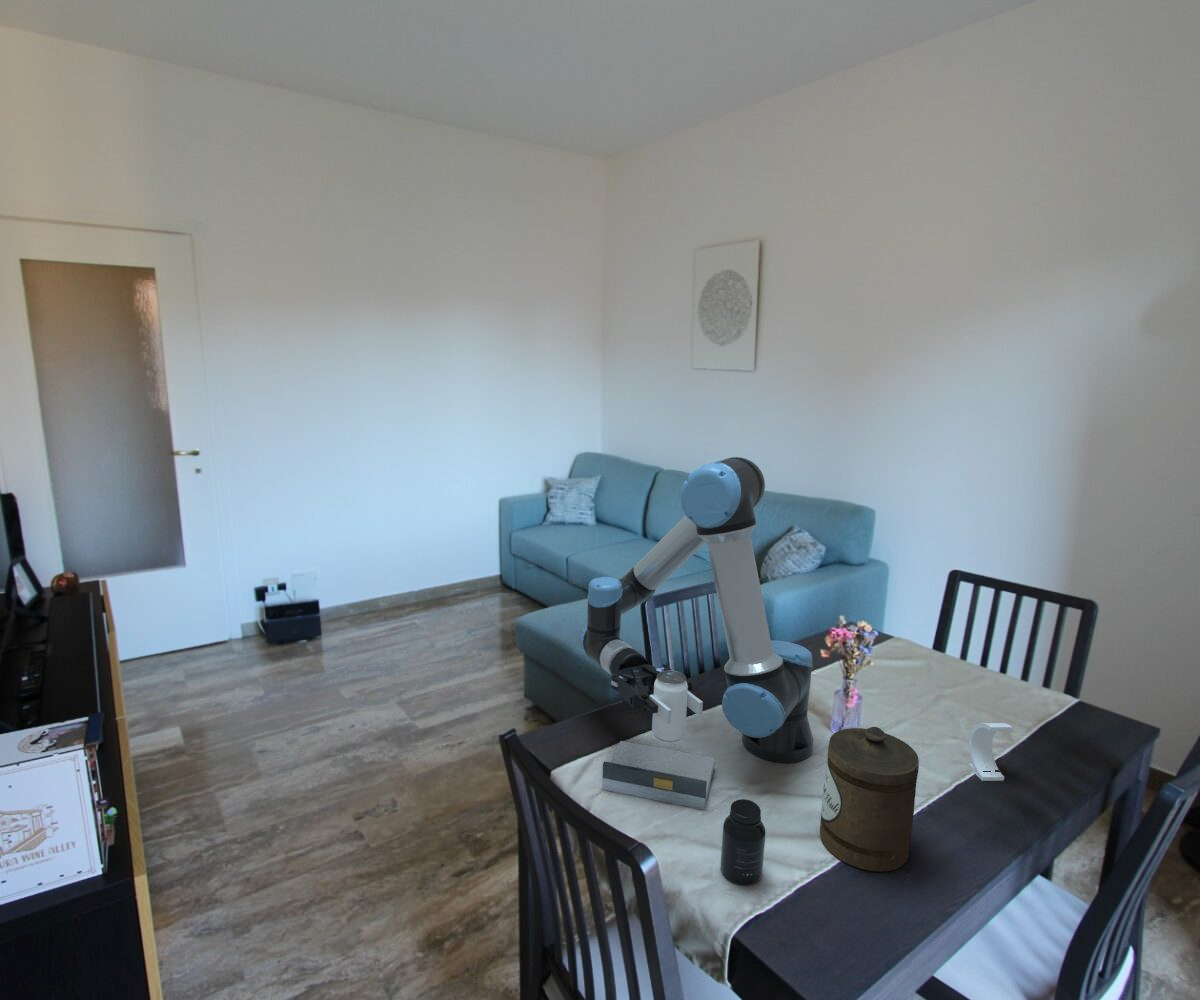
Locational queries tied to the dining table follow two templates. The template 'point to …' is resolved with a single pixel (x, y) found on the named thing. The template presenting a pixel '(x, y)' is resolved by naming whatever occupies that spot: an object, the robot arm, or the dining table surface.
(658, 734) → the can
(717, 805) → the dining table surface
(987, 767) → the headphone stand
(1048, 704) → the dining table surface
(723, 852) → the supplement bottle
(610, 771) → the grey tray
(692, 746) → the dining table surface
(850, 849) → the wooden container
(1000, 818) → the dining table surface
